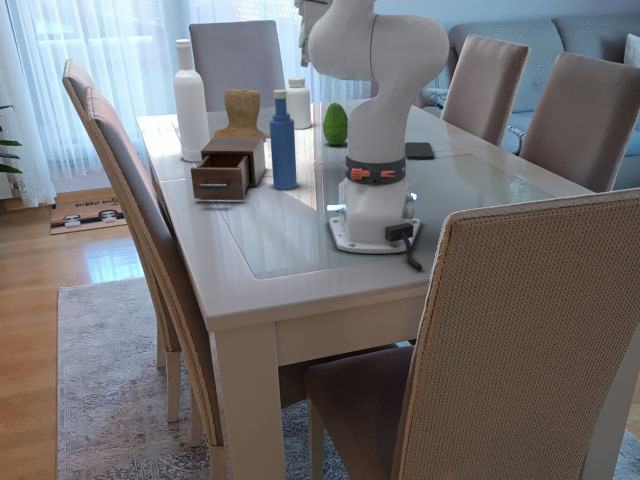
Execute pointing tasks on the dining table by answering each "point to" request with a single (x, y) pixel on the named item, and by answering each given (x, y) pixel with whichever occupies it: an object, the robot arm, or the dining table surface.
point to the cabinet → (240, 152)
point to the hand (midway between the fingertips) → (305, 64)
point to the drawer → (221, 176)
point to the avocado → (335, 124)
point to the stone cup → (241, 113)
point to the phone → (418, 150)
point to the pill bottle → (298, 103)
